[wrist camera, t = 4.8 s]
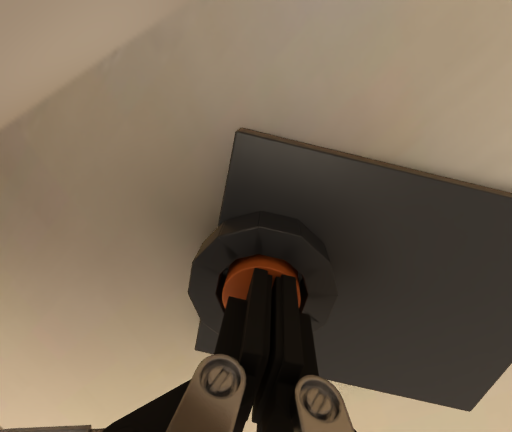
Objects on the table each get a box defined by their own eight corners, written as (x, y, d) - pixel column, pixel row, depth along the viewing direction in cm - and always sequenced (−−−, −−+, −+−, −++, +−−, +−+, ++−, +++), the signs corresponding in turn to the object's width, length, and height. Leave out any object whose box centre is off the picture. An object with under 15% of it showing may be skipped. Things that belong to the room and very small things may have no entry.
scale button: (223, 294, 13) (215, 321, 12) (235, 237, 12) (229, 258, 11) (287, 309, 13) (288, 337, 12) (306, 254, 12) (311, 277, 11)
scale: (191, 329, 17) (174, 374, 14) (227, 124, 12) (212, 131, 9) (456, 388, 17) (490, 445, 14) (593, 213, 12) (685, 245, 9)
